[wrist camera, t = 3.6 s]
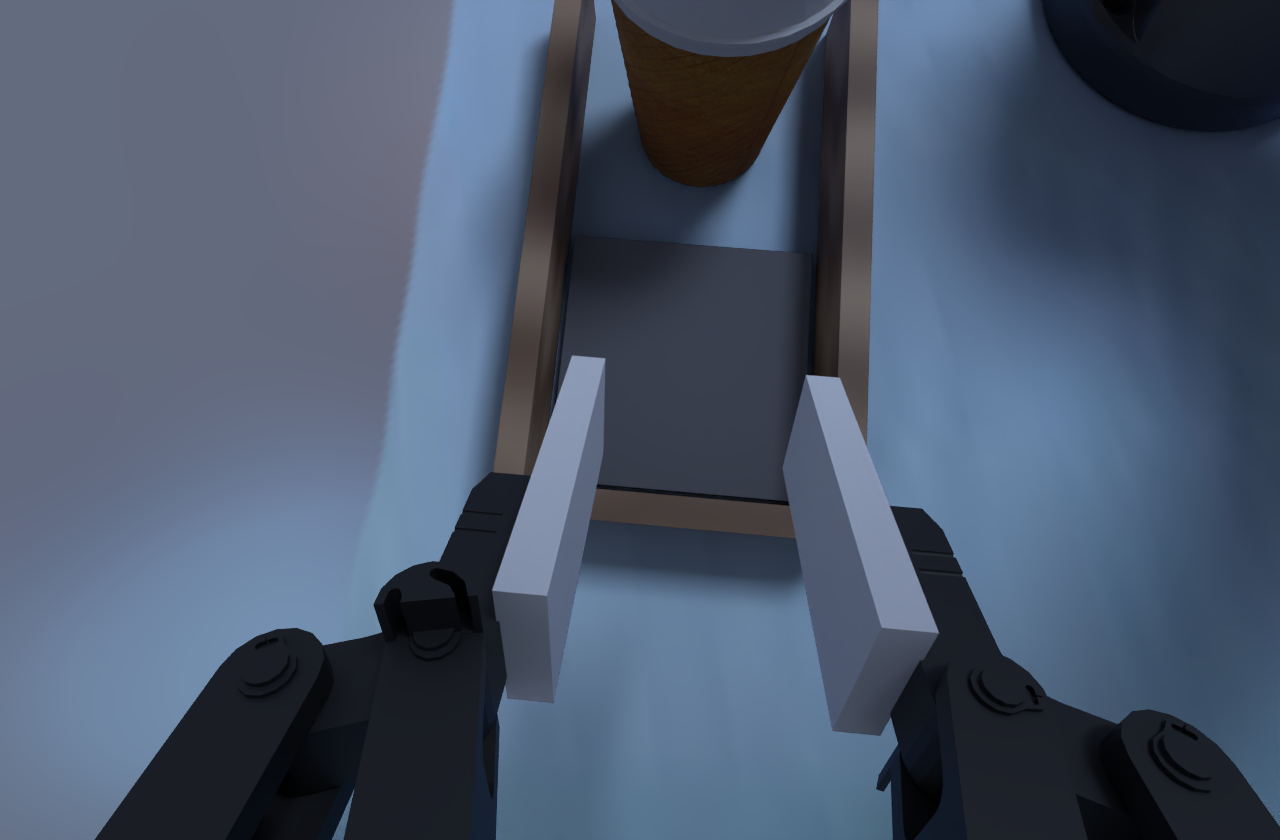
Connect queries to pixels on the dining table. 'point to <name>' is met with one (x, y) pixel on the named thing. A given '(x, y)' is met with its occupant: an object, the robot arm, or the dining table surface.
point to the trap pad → (692, 361)
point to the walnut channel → (837, 264)
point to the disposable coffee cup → (713, 77)
